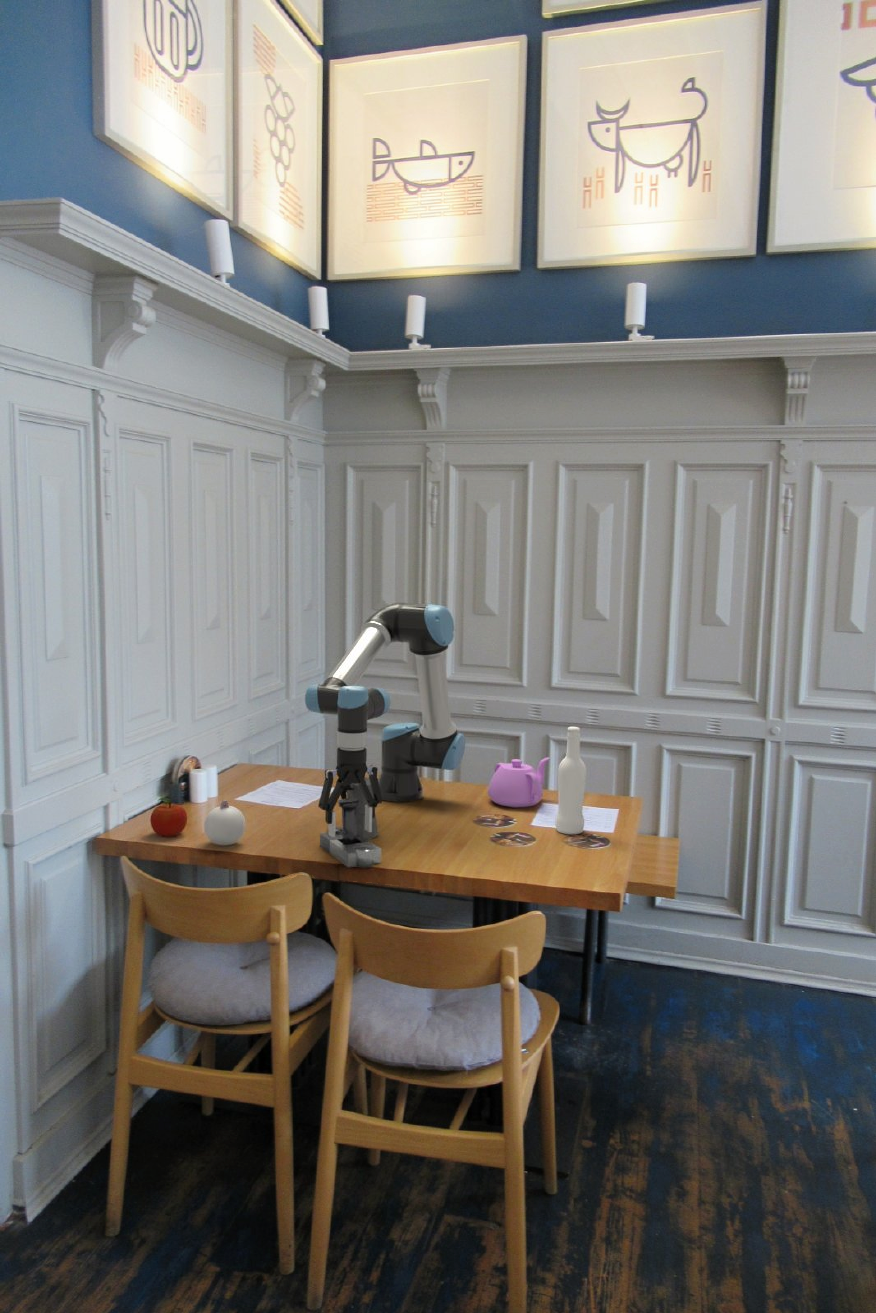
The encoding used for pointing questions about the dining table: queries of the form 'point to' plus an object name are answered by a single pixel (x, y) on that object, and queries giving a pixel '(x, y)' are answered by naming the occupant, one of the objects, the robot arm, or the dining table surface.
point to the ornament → (224, 824)
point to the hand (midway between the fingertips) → (350, 833)
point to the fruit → (168, 819)
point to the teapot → (517, 784)
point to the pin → (349, 820)
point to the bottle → (571, 787)
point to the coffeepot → (361, 808)
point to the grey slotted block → (351, 850)
